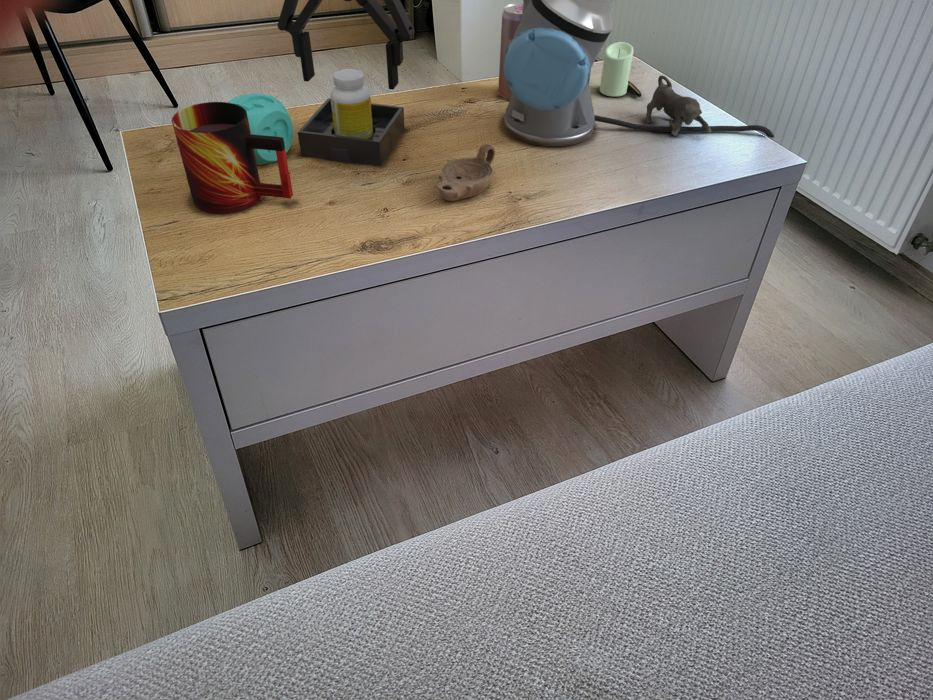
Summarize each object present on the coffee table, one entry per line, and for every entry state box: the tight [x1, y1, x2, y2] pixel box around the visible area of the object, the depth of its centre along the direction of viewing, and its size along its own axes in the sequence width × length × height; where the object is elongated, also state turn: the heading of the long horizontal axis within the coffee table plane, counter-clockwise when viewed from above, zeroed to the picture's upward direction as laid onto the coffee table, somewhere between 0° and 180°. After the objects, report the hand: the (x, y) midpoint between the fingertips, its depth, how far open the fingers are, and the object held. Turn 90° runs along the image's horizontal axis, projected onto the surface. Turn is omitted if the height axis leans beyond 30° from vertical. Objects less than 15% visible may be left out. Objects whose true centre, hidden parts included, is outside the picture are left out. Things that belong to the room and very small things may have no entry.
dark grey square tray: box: [314, 112, 397, 163], centre depth 116 cm, size 13×13×2 cm
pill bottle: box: [329, 68, 373, 139], centre depth 113 cm, size 6×6×11 cm
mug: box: [171, 101, 294, 215], centre depth 99 cm, size 10×14×12 cm
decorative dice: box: [227, 93, 295, 166], centre depth 110 cm, size 8×8×8 cm
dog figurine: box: [645, 75, 713, 137], centre depth 120 cm, size 12×6×7 cm, turn 30°
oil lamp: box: [434, 143, 496, 202], centre depth 105 cm, size 13×8×5 cm, turn 143°
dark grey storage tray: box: [297, 97, 406, 167], centre depth 115 cm, size 13×13×4 cm
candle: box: [599, 41, 634, 98], centre depth 131 cm, size 5×5×8 cm
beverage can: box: [497, 2, 523, 101], centre depth 127 cm, size 6×6×15 cm
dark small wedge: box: [627, 80, 642, 98], centre depth 136 cm, size 14×1×2 cm, turn 13°
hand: (351, 82), depth 110 cm, fingers open, 13 cm apart
